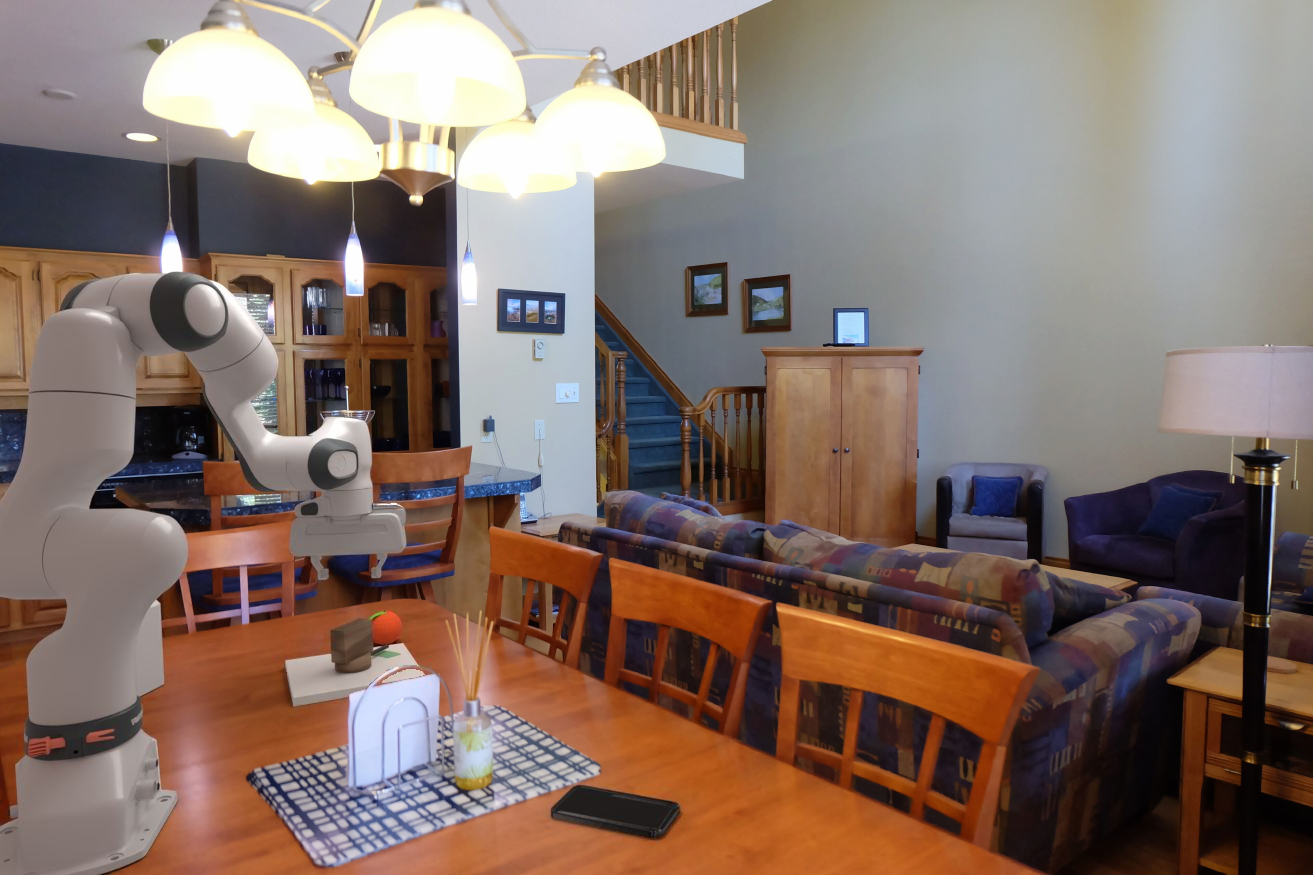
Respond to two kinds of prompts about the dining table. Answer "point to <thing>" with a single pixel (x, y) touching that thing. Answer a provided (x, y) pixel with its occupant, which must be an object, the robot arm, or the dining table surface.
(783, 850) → the dining table surface
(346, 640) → the tuning knob
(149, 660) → the milk carton
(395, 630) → the clementine
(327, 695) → the dial plate
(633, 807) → the phone
